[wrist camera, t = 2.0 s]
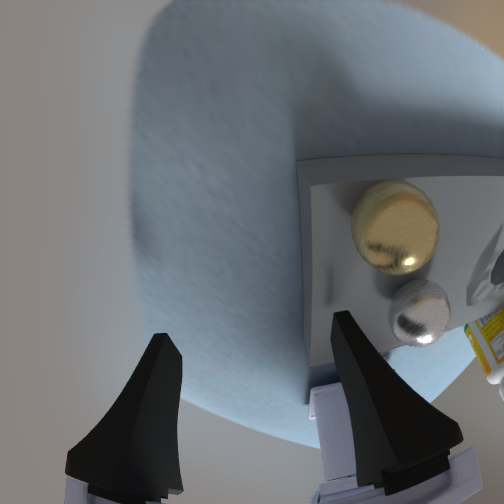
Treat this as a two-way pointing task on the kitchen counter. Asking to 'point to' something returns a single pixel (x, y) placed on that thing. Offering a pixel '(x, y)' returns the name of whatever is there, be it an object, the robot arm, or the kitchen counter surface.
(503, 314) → the supplement bottle
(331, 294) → the plate
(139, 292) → the kitchen counter surface
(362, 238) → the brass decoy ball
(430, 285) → the steel ball
